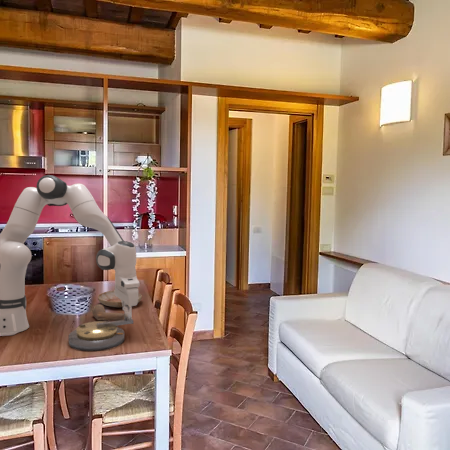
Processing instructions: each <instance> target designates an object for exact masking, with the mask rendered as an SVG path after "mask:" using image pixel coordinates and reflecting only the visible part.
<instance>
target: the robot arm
mask: <svg viewBox="0 0 450 450" xmlns="http://www.w3.org/2000/svg"><path fill="white" fill-rule="evenodd" d="M46 205H47V206H49V207H64V206H67V205H68V206H69V208H70V210H71V213H72V216H73V217H74V219H75V220H76V221H77V222H78V224H79V225H81V226H83V227H85V228H90V229H94V230H95V231H97V232H98V231H99V233H101V234H102V235H103V236H104V237H105V239H106V241H107V242H108V243H109V247H105V248H102V249H100V250H98V251H97V253H96V256H95V261H96V262H95V263H96V265H97V267H98V268H100V269H101V270H102V271H110V270H113V271H114V290H113V291H114V292H115V296H117V297H118V298H119V299H121V302H122V306H123V307H122V311H124V306H132V307H134V306H137V305H138V303H139V302H138V293H139V287H140V285H141V284H140V281H139V278H138V276H137V270H136V266H137V250H136V246H135V244H134V243H132V242H131V241H128V240H124V239H123V238H122V235H121V234H120V233H119V231H118V229H117V228H116V227H115V225H114V223H113V222H112V221H111V219H110V218H109V217H108V216H107V215H106V214H105V213H104V212H103V211H102V210H101V208H100V207H99V206H98V203H97V202H96V200H95V198H94V197H93V195H92V193H91V191H90V190H89V189H88V187H87V186H86V185H85V184H83V183H74V184H71V185H68V184H67V182H65V181H64V180H62V179H61V178H59V177H57V176H55V175H52V174H51V175H50V174H47V175H46V174H45V175H42V176H41V177H40V178H38V180H37V182H36V187H34V186H29V187H25V188H24V189H23V190H22V192H21V193H20V195H19V196H18V198H17V200H16V202H15V203H14V206H13V209H12V211H11V213H10V216H9V219H8V221H7V222H6V224H5V226H4V228H3V229H2V231H1V232H0V337H1V336H2V337H5V336H14V335H16V334H18V333H20V332H21V333H22V332H23V331H26V330H27V329H28V328H30V325H29V321H28V316H27V311H26V310H27V297H26V296H27V295H26V294H25V293H26V291H25V290H26V288H25V286H26V284H25V281H26V280H25V278H26V274H27V269H28V266H29V263H30V262H31V260H32V251H31V249H29V247H28V246H27V245H25V242H26V241H27V240H28V238H29V237H30V236H31V235H32V234H33V233H34V232H35V228H36V227H37V223H38V221H39V219H40V216H41V215H42V212H43V209H44V207H45V206H46Z"/></svg>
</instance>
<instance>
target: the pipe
mask: <svg viewBox="0 0 450 450" xmlns="http://www.w3.org/2000/svg"><path fill="white" fill-rule="evenodd" d="M91 313H92V315H93V317H94V318H95V319H96V320H97V321H109V322H112V321H120V320H124V313H122V312H121V313H118V312H106V309H105V306H104V304H102V303H101V304H100V303H98V304H96V305H94V306H93V307H92V309H91Z"/></svg>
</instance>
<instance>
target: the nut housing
mask: <svg viewBox="0 0 450 450" xmlns="http://www.w3.org/2000/svg"><path fill="white" fill-rule="evenodd" d="M124 342H125V331H124V329H123V328H122V327H118V326H117V334H116V335H115V336H114V337H111V338H109V339H105V340H98V341H88V340H82V339H79V338H78V337H77V334H76V329H74V330H72V331H71V332H70V333H69V334H68V346H70V348H71V349H73V350H77V351H83V352H100V351H106V350H110V349H113V348H116V347H118V346H120V345H122V344H123V343H124Z"/></svg>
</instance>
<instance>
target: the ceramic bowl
mask: <svg viewBox="0 0 450 450" xmlns="http://www.w3.org/2000/svg"><path fill="white" fill-rule="evenodd" d="M114 291H115V290H107V291H103V292H100V293H98V295H97V300H98V302H99V304H100V303H101V305H103V306H104V305H105V306H107V307H109V308H123V306H122V302H121V299H119V298H118V297H117V296H115V292H114ZM142 298H143V295H142V294H141V292H138V303H140V302H141V301H142Z"/></svg>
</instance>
